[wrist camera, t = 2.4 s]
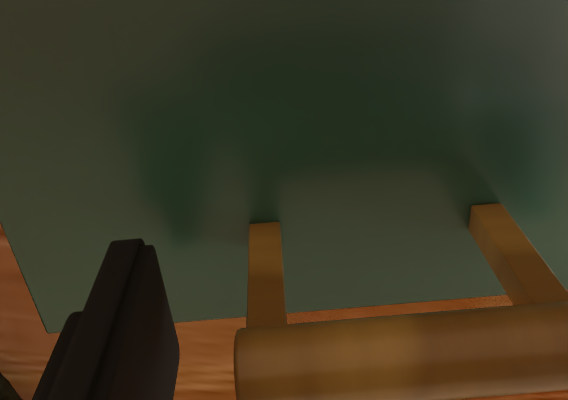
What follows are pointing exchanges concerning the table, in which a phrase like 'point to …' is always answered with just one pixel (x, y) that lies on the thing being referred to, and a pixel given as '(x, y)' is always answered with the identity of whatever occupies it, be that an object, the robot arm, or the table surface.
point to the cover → (304, 179)
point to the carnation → (7, 390)
